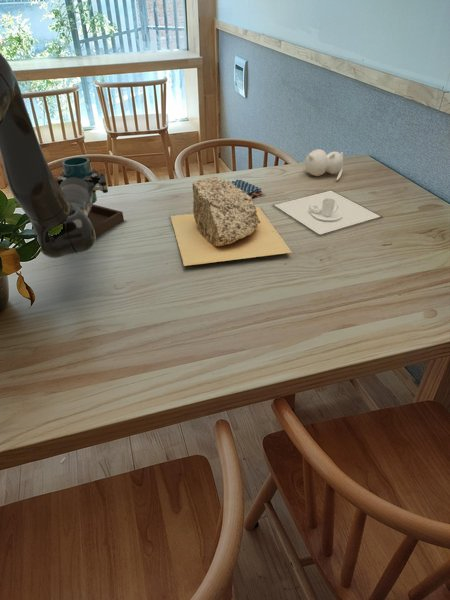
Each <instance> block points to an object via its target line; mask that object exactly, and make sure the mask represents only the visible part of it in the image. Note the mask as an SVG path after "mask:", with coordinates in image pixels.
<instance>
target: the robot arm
mask: <svg viewBox="0 0 450 600" xmlns="http://www.w3.org/2000/svg"><path fill="white" fill-rule="evenodd" d="M0 159H1V163H2V167H3V172H4V175H5V179H6V182H7V185H8V188H9V190H10V192H11V194H12V197H13V198H14V199H15V201H16V202H17V204H18V205H19V207H20V208H21V209H22V211H23V212H24V213H25V215H26V216H27V218H28V219H29V221H30V223H31V227H32V229H33V232H34V231H35V232H34V234H35V233H36V234H37V241H38V243H39V245H40V247H41V248H40V250H39V251H40V253H41V254H43V256H45V257H47V258H50V259H59V258H63V257H68V256H71V255H77V254H81V253H85V252H87V251H90V250H91V249H92V248H93V247H94V246H95V244H96V241H97V238H96V234H95V230H94V228H93V225H92V223H91V221H90V220H89V214H90V212H91V208H92V201H93V194H94V193H95V192H96V193H97V191H100V192H102V193H104V194H107V193H109V189H108V184H107V183H108V182H107V179H106V175H105V173H100V174H99V171H98V170H96V168H93V169H92V168H91V171H92V173H91V175H90V176H89V175H87V176H85V177H84V178H82V179H80V178H75V177H72V178H66V177H65V174H64V171H62V173H60V174H59V176H57V178H56V177H55V176H54V174H53V172H52V170H51V168H50V166H49V164H48V161H47V160H46V157H45V155H44V153H43V149H42V147H41V144H40V142H39V139H38V135H37V134H36V131H35V127H34V125H33V123H32V119H31V117H30V114H29V111H28V109H27V105H26V103H25V100H24V97H23V94H22V90H21V87H20V85H19V83H18V80H17V77H16V75H15V72H14V70H13V68H12V66H11V65H10V63H9V62H8V60H7V58H6V57H5V56H4V55H3V54H2V53H1V52H0ZM60 224H63V229H62V230H61V232H60V233H59V234H57V235H53V236H50V237H49V236H48V231H49V230H51V229H52V228H54V227H56V226H58V225H60ZM37 241H36V242H37Z"/></svg>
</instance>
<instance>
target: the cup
mask: <svg viewBox="0 0 450 600" xmlns="http://www.w3.org/2000/svg"><path fill="white" fill-rule="evenodd" d="M61 165H62V169H63V172H64V174H65V177H66V178H72V177H75V178H80V179H82V178H84V177H85V176H87V175H89V176H90V175H91V173H92V167H91V162H90V158H88V157H84V156H75V157H69V158H66V159H64V160H63V161H62V162H61ZM97 201H98V197H97V191H96V192H95V193H94V194H93V201H92V204H95V203H96V202H97Z"/></svg>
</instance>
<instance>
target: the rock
mask: <svg viewBox="0 0 450 600" xmlns="http://www.w3.org/2000/svg"><path fill="white" fill-rule="evenodd" d="M192 193H193V194H192V195H193V201H192V202H193V203H192V205H193V206H192V207H193V208H192V211H193V213H185V214H177V215H170V220H171V223H172V227H173V231H174V234H175V238H176V241H177V245H178V246H177V247H178V249H179V253H180V257H181V260H182V263H183V267H186V266H193V265H194V266H195V265H203V264H204V265H205V264H210V263H217V262H226V261H234V260H242V259H243V260H245V259H251V258H257V257H259V258H261V257H268V256H275V255H283V254H290V253H292V254H293V251H292V250H291V248H289V246H288V244H287V243H286V242H285V241H284V239H283V238H282V237H281V235H280V234H279V232H278V231H277V230H276V228H275V227H274V225H273V224H272V222H270V220H269V218H268V217H267V216H266V215H265V213H264V212H263V211H262V209H261V208H260V206H255V203H254V201H253V197H252V198H251V197H250V196H249V195H248V194H247V193H246V192H244V191H242V190H241V189H239V188H237V187H236V186H235V185H234V184H233V183H232V181H230V180H227V179H222V178H221V176H212V177H208V178H205V179H201V180H200V179H199V180H195V181H194V182H193V183H192Z"/></svg>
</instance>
